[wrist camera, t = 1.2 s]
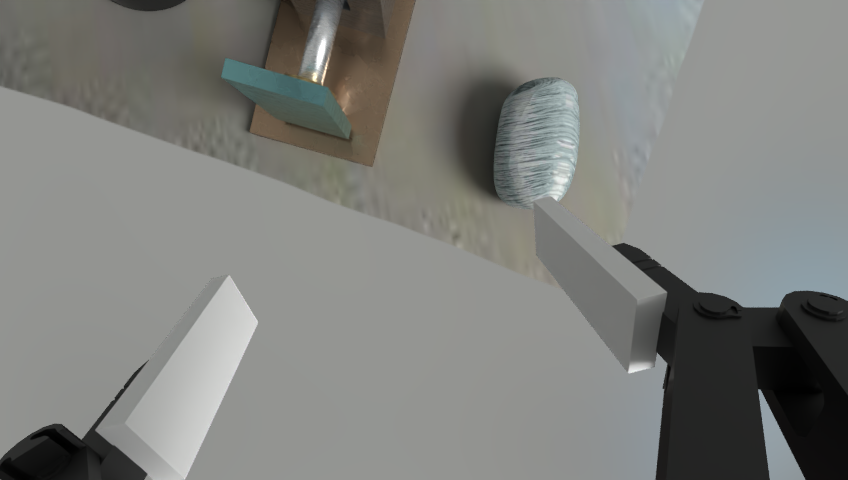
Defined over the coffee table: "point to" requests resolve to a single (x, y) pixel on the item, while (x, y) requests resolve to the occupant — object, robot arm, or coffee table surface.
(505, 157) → the spool
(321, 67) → the block
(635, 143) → the coffee table surface
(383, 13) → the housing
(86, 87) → the coffee table surface
